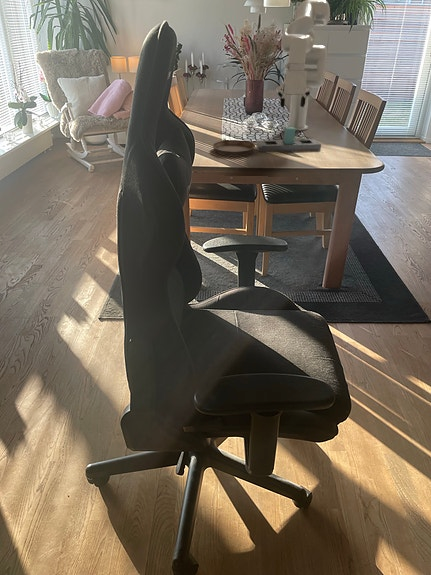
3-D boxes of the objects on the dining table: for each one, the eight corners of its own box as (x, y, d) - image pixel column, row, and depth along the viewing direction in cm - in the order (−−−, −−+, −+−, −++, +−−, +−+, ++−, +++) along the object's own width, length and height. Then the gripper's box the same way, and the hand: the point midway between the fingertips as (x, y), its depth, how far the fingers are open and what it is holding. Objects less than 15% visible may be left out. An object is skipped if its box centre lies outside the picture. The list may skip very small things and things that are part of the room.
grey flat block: (256, 146, 231) (256, 140, 230) (313, 144, 236) (314, 138, 234) (261, 152, 223) (261, 146, 222) (320, 150, 227) (321, 144, 226)
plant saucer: (203, 151, 224) (203, 144, 222) (232, 143, 236) (233, 137, 235) (234, 161, 212) (234, 153, 210) (263, 152, 224) (264, 145, 222)
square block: (283, 147, 231) (285, 126, 225) (290, 147, 231) (293, 126, 226) (285, 149, 228) (287, 128, 222) (293, 149, 228) (295, 128, 223)
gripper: (280, 68, 205) (276, 108, 215) (317, 68, 208) (312, 108, 217) (275, 66, 212) (272, 105, 221) (311, 65, 214) (307, 104, 223)
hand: (292, 106), depth 219 cm, fingers open, 9 cm apart
